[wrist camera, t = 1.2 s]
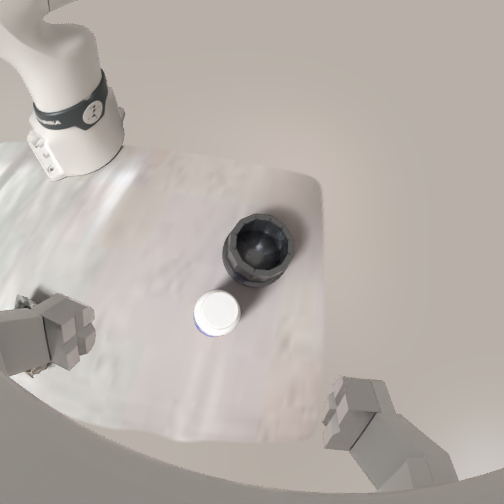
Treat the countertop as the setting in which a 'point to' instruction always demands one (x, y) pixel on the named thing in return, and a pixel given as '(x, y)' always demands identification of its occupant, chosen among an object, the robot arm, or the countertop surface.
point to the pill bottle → (216, 313)
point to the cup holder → (258, 250)
